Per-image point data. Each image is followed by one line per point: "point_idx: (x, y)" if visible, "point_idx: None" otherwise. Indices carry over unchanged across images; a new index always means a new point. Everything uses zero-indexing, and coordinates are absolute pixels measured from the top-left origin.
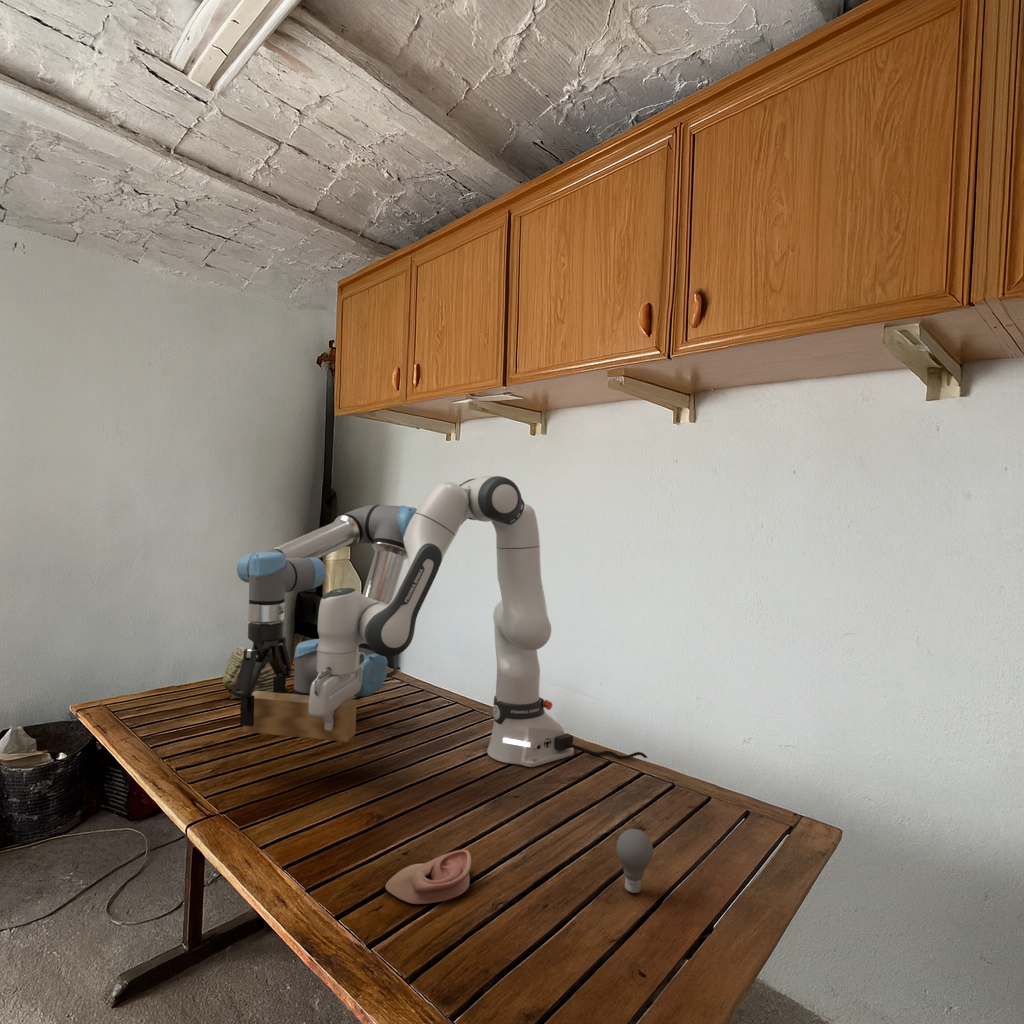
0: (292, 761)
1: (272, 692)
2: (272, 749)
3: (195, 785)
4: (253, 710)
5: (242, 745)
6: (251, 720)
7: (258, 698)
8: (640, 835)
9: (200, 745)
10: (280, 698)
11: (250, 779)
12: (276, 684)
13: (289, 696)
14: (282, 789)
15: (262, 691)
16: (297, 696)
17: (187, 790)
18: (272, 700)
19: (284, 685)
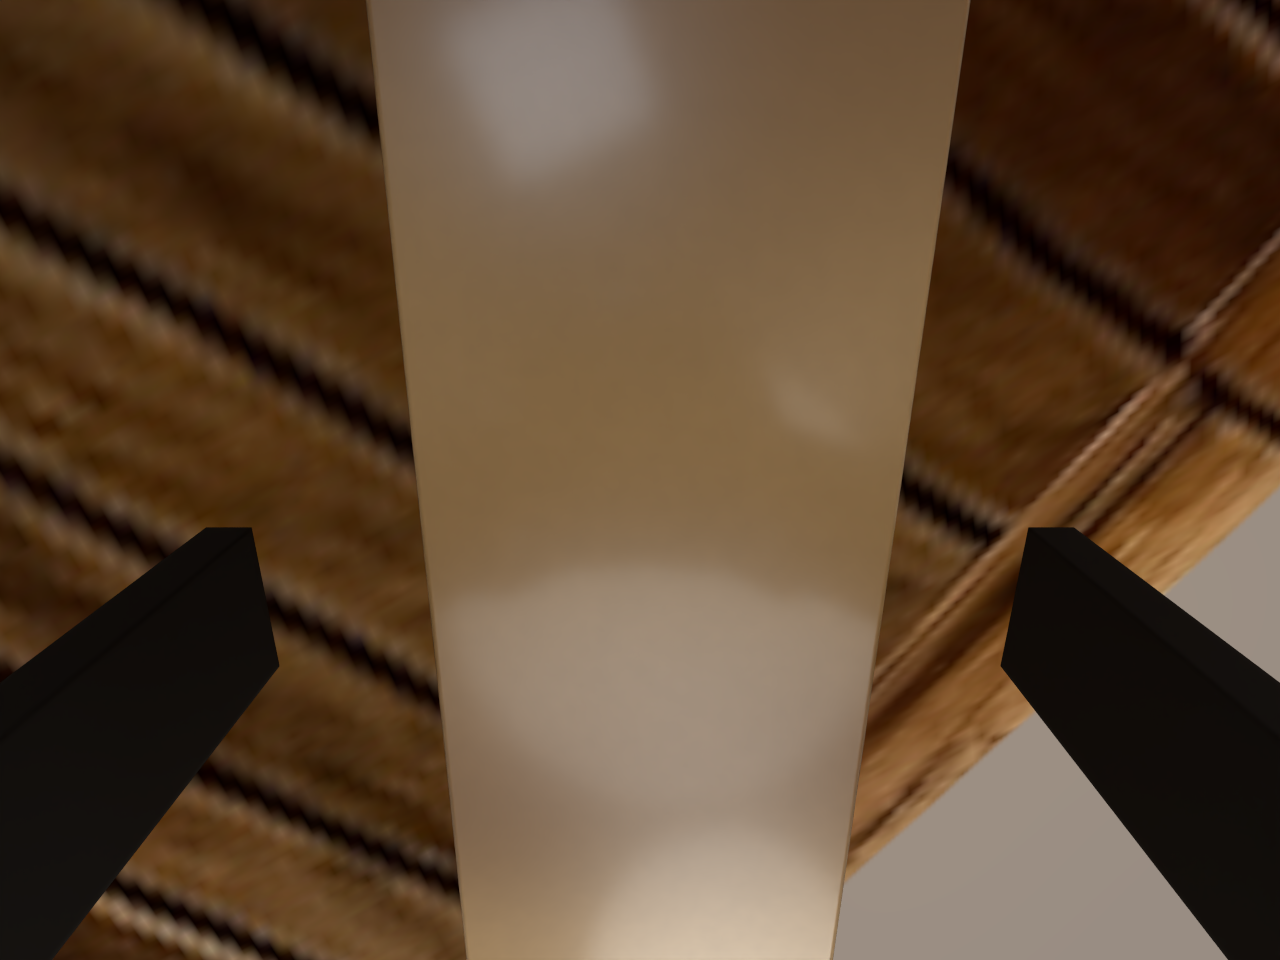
0: None
1: (458, 734)
2: (278, 527)
3: None
4: (1178, 638)
5: (302, 714)
6: (1117, 570)
7: (853, 792)
8: None
9: (392, 892)
10: (800, 397)
11: None
12: (64, 866)
13: (603, 261)
14: None
15: (465, 901)
16: (542, 37)
17: (918, 666)
18: (885, 520)
19: (7, 717)
